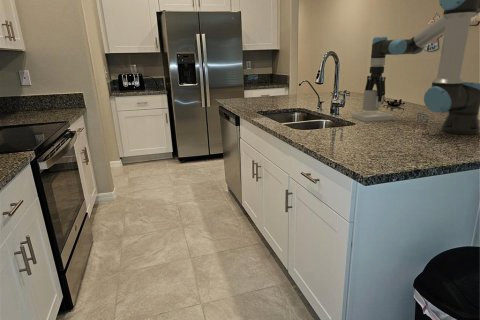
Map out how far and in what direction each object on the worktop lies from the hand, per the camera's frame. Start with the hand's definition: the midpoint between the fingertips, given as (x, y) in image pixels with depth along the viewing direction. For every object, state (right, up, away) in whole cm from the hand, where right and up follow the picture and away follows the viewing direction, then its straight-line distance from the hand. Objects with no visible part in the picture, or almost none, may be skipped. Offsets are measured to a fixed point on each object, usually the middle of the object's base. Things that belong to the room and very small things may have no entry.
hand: (373, 106), depth 184 cm
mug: (0, -2, 0) cm, 2 cm away
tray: (0, -7, +2) cm, 8 cm away
